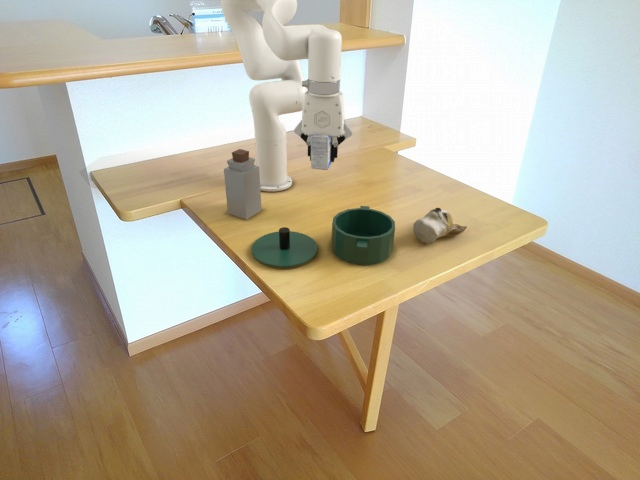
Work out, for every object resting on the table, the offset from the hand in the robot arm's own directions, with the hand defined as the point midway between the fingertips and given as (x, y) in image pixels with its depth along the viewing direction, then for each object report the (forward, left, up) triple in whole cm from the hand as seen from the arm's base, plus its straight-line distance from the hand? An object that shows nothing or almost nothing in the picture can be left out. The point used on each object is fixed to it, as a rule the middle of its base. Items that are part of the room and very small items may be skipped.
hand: (322, 158), depth 122 cm
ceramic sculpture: (+31, -3, -19) cm, 36 cm away
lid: (-7, -16, -18) cm, 25 cm away
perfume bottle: (-22, +3, -19) cm, 29 cm away
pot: (+12, -12, -19) cm, 25 cm away
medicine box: (0, 0, -2) cm, 2 cm away
